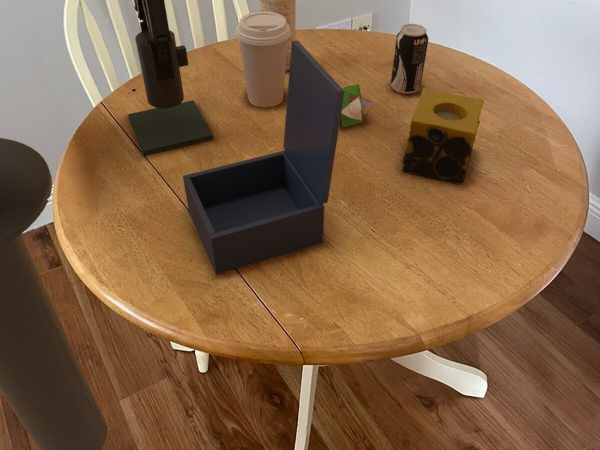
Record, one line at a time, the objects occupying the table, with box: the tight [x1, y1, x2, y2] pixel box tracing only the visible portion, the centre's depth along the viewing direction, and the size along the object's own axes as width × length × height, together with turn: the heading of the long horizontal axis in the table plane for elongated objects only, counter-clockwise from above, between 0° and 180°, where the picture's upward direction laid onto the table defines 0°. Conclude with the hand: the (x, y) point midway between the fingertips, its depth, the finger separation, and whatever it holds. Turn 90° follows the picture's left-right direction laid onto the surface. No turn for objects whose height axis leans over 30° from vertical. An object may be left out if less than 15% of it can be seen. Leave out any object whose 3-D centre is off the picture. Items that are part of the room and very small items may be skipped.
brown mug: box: [134, 29, 189, 108], centre depth 95 cm, size 8×6×11 cm
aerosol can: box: [258, 0, 297, 73], centre depth 112 cm, size 7×7×20 cm
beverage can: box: [390, 23, 429, 95], centre depth 108 cm, size 6×6×12 cm
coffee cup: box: [234, 11, 291, 108], centre depth 105 cm, size 10×10×15 cm
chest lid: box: [282, 39, 345, 205], centre depth 76 cm, size 16×14×1 cm
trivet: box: [127, 100, 214, 157], centre depth 102 cm, size 12×12×1 cm
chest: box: [182, 150, 325, 275], centre depth 82 cm, size 16×14×7 cm
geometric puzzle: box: [340, 83, 374, 128], centre depth 102 cm, size 7×7×8 cm
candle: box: [401, 87, 485, 185], centre depth 93 cm, size 10×10×10 cm
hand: (160, 68), depth 94 cm, fingers closed on brown mug, 6 cm apart
